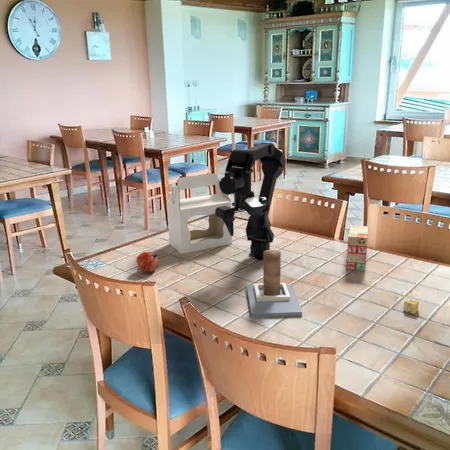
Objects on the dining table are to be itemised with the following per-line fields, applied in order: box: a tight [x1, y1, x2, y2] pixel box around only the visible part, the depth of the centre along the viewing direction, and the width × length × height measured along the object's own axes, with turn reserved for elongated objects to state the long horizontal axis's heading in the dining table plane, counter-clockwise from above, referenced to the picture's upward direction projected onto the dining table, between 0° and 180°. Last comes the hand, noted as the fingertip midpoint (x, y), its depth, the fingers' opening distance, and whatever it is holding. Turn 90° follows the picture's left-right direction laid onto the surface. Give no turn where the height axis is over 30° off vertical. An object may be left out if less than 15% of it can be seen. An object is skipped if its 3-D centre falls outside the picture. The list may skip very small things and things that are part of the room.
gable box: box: [166, 172, 233, 255], centre depth 180 cm, size 22×13×28 cm, turn 118°
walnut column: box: [262, 249, 282, 296], centre depth 136 cm, size 5×5×13 cm
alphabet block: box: [403, 298, 420, 315], centre depth 128 cm, size 3×3×3 cm
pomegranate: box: [136, 251, 160, 274], centre depth 158 cm, size 7×7×10 cm
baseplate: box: [246, 282, 303, 318], centre depth 135 cm, size 18×14×2 cm
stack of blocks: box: [345, 224, 369, 272], centre depth 164 cm, size 21×6×12 cm, turn 163°
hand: (243, 233), depth 155 cm, fingers open, 9 cm apart
